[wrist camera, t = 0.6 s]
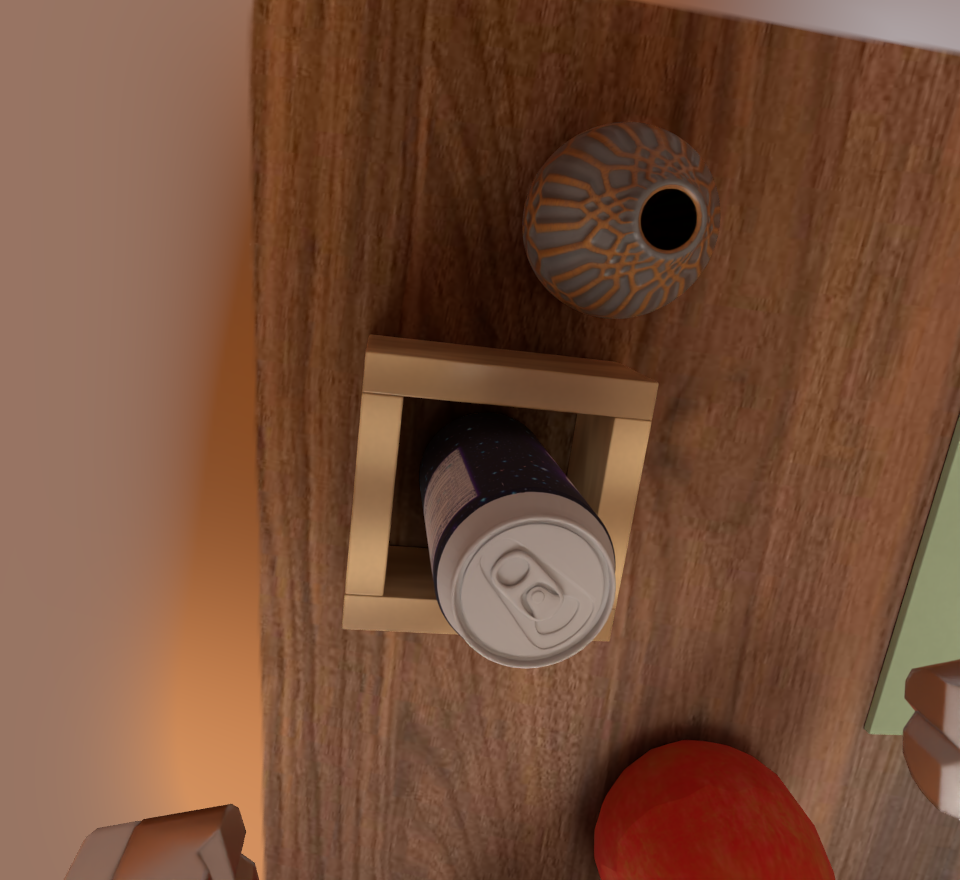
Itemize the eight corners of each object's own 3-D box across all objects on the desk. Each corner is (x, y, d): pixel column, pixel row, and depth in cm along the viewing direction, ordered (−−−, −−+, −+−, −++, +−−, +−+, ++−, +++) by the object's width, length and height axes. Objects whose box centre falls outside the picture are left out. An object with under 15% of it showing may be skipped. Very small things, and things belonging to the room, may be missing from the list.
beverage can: (474, 551, 33) (522, 714, 21) (391, 465, 31) (395, 594, 20) (567, 472, 32) (666, 596, 21) (487, 381, 31) (548, 462, 19)
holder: (368, 333, 30) (365, 351, 25) (618, 361, 31) (659, 382, 27) (348, 572, 32) (341, 629, 28) (578, 586, 34) (609, 641, 29)
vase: (498, 299, 30) (542, 320, 22) (521, 125, 28) (579, 75, 20) (652, 318, 31) (750, 346, 23) (683, 152, 29) (802, 115, 21)
